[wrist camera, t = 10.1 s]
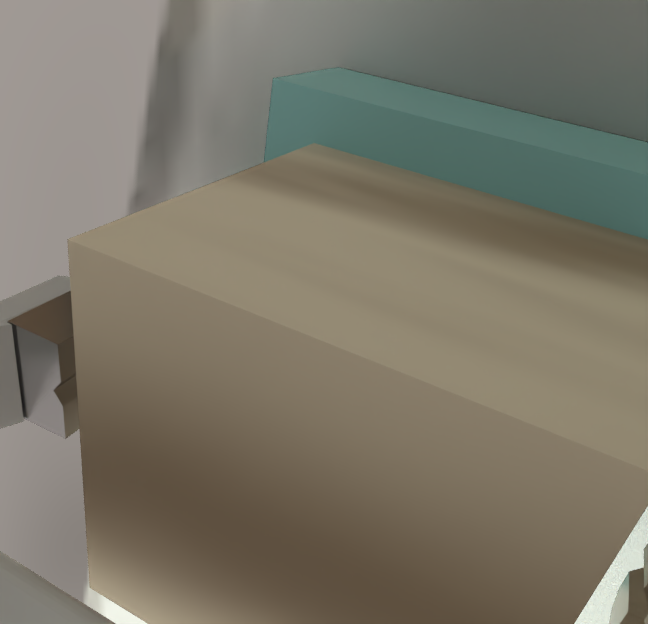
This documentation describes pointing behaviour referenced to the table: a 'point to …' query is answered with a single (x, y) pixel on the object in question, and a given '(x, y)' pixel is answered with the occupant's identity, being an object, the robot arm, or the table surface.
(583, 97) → the table surface
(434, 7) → the table surface
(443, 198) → the beech block
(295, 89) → the base brick
